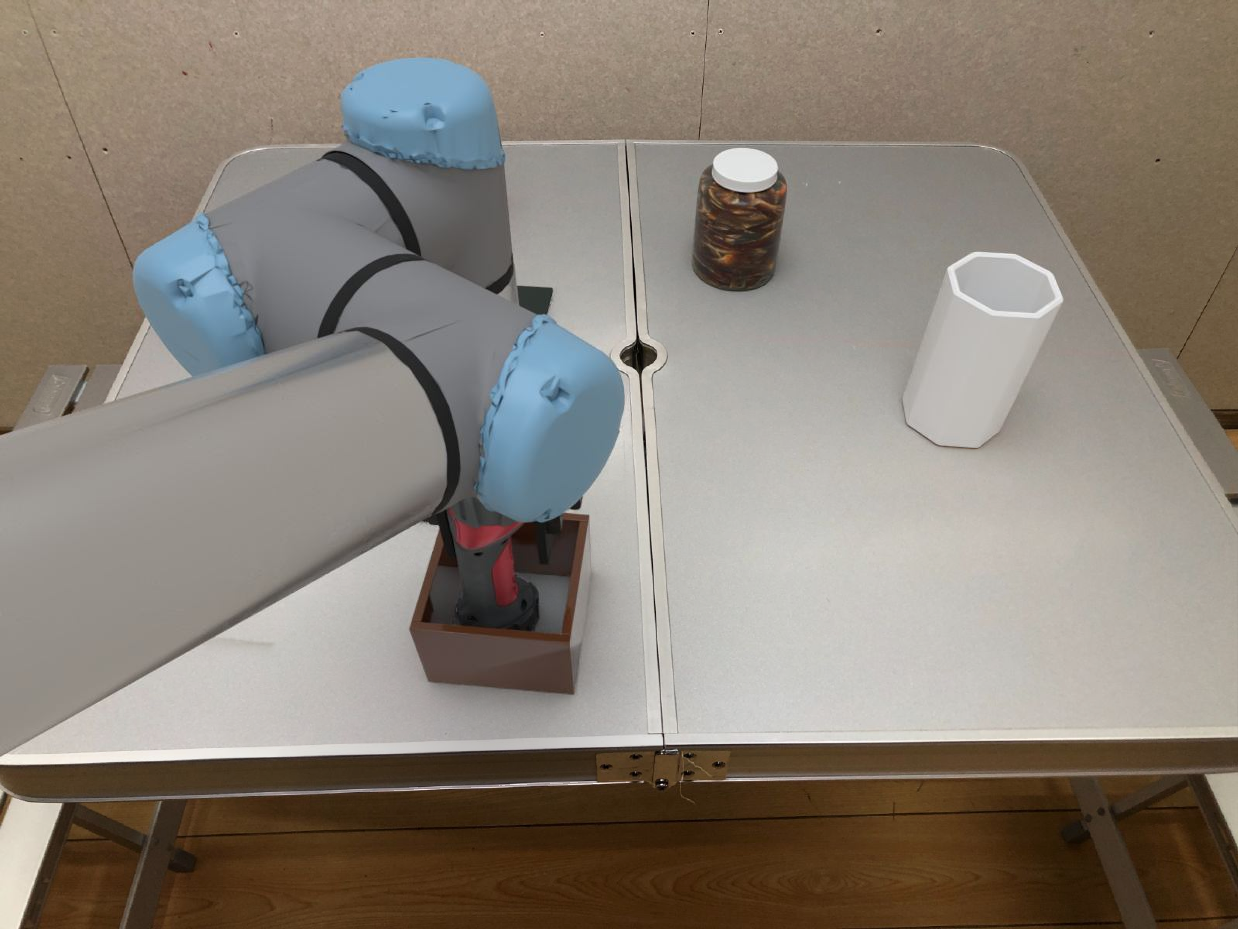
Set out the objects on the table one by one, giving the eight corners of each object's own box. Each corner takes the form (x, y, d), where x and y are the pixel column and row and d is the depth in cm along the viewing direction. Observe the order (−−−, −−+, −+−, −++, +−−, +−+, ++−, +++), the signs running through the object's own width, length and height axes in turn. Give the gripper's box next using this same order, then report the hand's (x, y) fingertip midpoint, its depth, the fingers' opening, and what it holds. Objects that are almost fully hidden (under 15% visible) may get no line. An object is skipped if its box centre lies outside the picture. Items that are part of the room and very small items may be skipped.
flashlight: (569, 604, 80) (554, 437, 62) (533, 673, 75) (507, 513, 58) (496, 578, 81) (463, 410, 64) (456, 644, 77) (409, 481, 60)
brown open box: (427, 682, 74) (408, 629, 67) (460, 560, 83) (446, 503, 76) (574, 695, 73) (569, 643, 67) (592, 571, 82) (589, 514, 75)
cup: (914, 370, 101) (961, 238, 88) (1009, 401, 98) (1073, 268, 84) (888, 429, 95) (934, 295, 81) (988, 463, 91) (1054, 331, 77)
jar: (793, 264, 116) (811, 163, 105) (740, 302, 110) (754, 199, 99) (726, 231, 121) (737, 132, 110) (673, 266, 116) (679, 164, 104)
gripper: (625, 301, 54) (624, 520, 71) (325, 283, 55) (395, 503, 72) (613, 380, 49) (615, 596, 66) (283, 358, 50) (370, 575, 67)
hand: (500, 547), depth 69 cm, fingers closed on flashlight, 7 cm apart
